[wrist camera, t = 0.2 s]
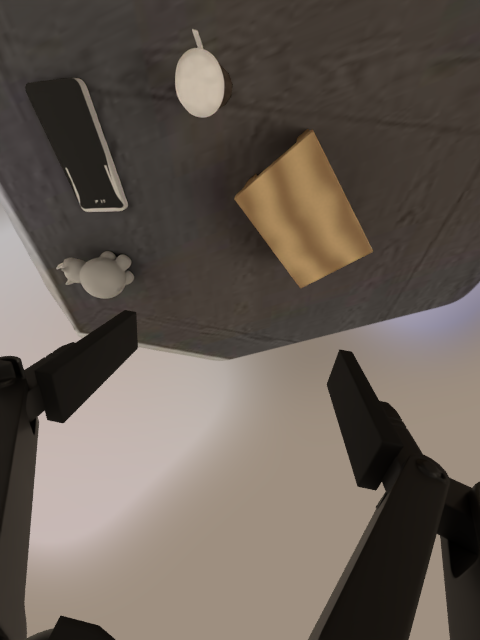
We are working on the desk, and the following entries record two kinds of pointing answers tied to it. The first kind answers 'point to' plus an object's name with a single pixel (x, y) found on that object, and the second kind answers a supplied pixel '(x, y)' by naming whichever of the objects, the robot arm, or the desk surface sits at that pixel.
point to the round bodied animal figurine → (99, 274)
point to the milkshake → (201, 81)
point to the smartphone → (78, 142)
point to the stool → (304, 213)
